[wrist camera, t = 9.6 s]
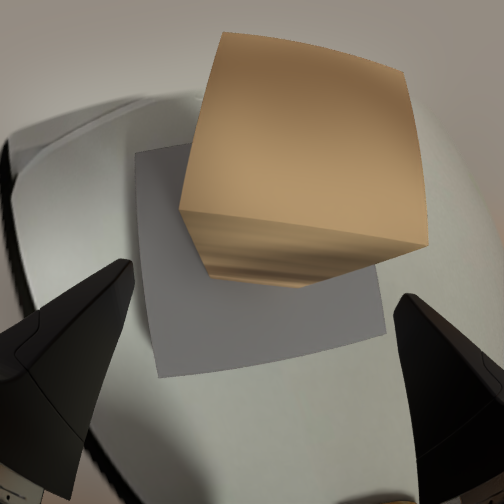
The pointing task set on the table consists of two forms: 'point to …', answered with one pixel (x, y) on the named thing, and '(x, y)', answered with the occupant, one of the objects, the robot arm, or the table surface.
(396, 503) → the pastry
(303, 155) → the oak block
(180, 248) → the plinth
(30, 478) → the robot arm
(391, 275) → the table surface
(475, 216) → the table surface
